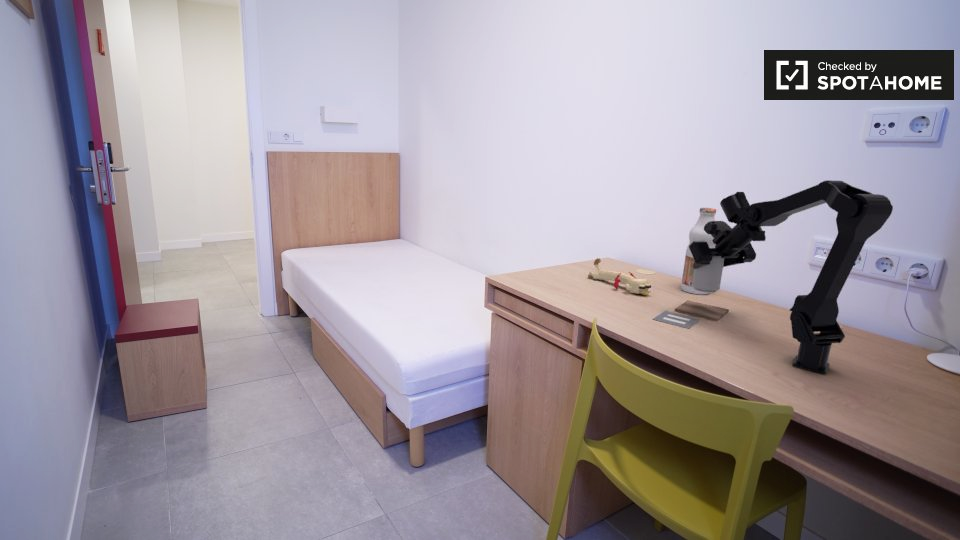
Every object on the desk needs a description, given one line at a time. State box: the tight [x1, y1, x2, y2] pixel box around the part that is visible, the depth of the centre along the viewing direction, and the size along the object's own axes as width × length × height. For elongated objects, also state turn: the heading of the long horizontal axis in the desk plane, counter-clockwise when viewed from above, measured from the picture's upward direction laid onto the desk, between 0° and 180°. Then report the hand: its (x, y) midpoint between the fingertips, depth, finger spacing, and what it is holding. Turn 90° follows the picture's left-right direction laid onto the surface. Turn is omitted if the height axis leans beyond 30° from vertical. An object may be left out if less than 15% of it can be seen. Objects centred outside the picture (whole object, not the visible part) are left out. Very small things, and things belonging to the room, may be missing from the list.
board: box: [673, 300, 729, 322], centre depth 146 cm, size 12×12×1 cm
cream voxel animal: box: [587, 257, 652, 296], centre depth 168 cm, size 10×9×25 cm
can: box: [692, 257, 724, 294], centre depth 143 cm, size 8×8×12 cm
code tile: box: [652, 310, 701, 329], centre depth 138 cm, size 10×10×1 cm
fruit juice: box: [680, 207, 717, 296], centre depth 163 cm, size 9×9×28 cm
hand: (705, 267), depth 144 cm, fingers closed on can, 7 cm apart
